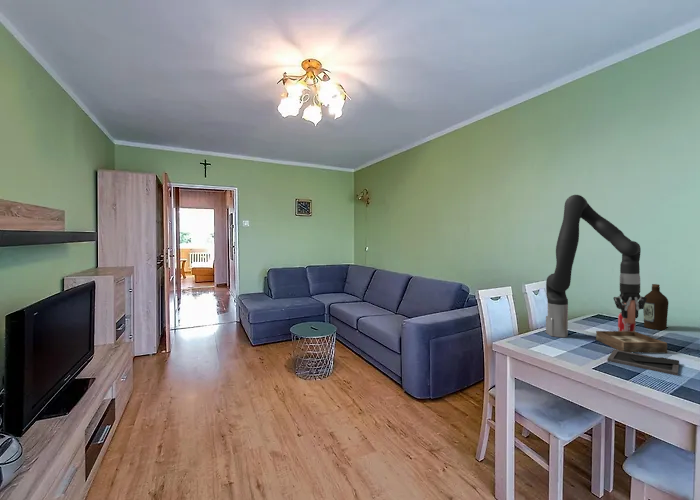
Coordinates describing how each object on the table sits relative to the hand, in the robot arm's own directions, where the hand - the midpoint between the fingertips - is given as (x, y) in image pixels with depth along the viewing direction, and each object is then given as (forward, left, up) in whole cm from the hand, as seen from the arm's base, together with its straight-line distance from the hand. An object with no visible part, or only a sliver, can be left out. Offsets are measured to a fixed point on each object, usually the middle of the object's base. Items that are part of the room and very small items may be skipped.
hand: (629, 317), depth 155 cm
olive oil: (+37, +32, -14) cm, 51 cm away
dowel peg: (0, 0, -2) cm, 2 cm away
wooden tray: (0, 0, -14) cm, 14 cm away
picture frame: (-10, -21, -14) cm, 28 cm away
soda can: (+11, +17, -14) cm, 24 cm away
